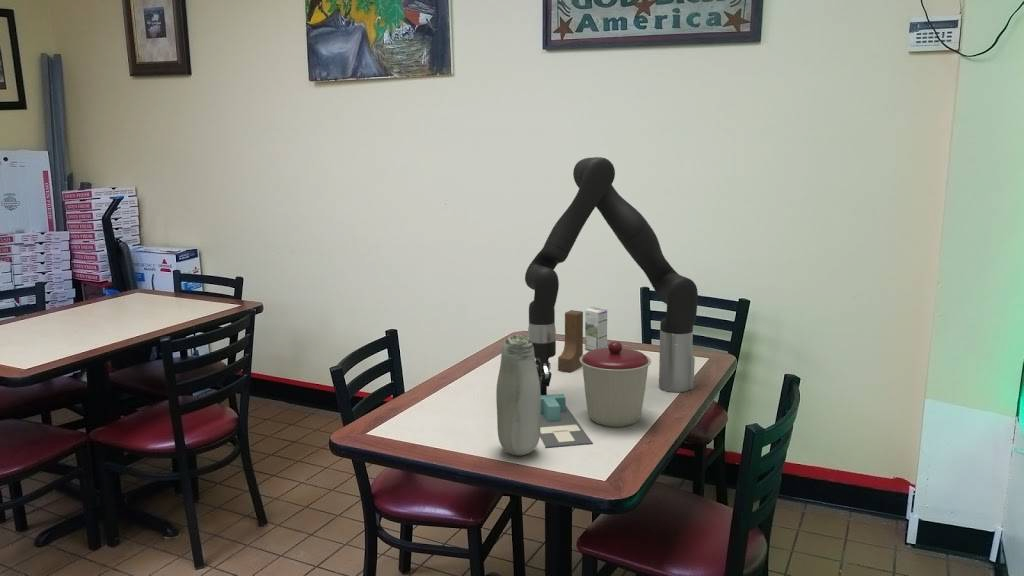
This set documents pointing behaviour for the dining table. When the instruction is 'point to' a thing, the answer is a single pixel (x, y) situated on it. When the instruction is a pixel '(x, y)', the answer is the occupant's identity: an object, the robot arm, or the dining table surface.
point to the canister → (614, 384)
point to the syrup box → (595, 328)
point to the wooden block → (572, 342)
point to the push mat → (562, 431)
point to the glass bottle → (518, 397)
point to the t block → (553, 406)
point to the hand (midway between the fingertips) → (542, 398)
